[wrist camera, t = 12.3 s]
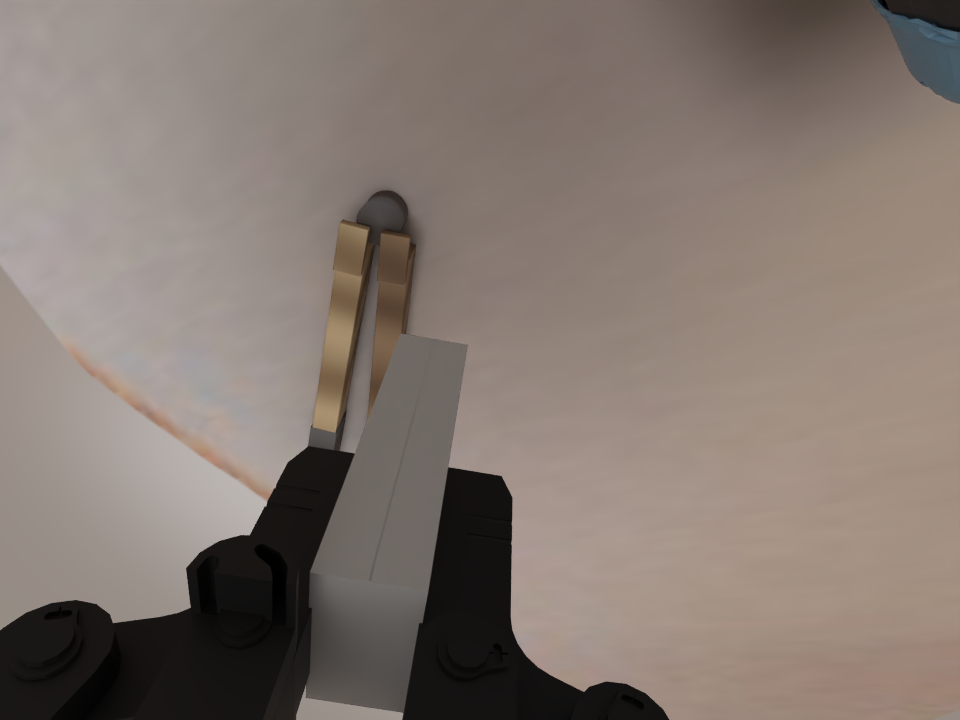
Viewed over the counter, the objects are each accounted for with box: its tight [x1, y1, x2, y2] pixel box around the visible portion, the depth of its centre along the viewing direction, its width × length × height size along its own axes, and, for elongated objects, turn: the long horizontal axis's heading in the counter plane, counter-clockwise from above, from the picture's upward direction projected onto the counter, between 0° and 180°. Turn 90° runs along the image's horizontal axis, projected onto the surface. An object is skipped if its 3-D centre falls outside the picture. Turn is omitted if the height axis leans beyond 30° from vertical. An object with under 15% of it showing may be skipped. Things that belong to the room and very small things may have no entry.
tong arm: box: [308, 220, 375, 451], centre depth 44 cm, size 22×2×4 cm, turn 165°
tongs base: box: [357, 191, 416, 421], centre depth 44 cm, size 23×4×4 cm, turn 171°
